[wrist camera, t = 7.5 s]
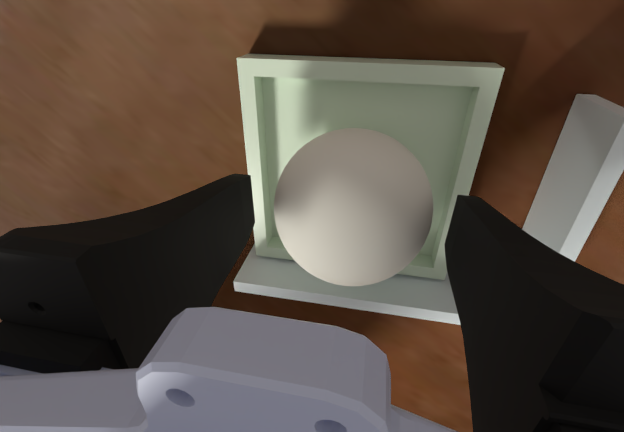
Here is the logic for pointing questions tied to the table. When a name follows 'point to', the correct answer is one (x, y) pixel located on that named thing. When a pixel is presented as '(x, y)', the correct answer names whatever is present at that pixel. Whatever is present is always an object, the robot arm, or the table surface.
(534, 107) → the table surface
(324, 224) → the ball
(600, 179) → the acrylic walls
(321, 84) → the resting spot
